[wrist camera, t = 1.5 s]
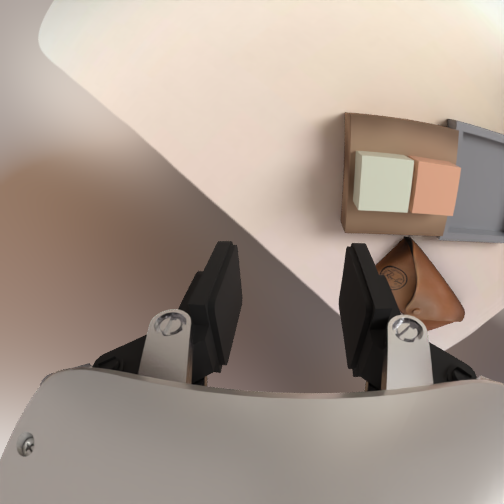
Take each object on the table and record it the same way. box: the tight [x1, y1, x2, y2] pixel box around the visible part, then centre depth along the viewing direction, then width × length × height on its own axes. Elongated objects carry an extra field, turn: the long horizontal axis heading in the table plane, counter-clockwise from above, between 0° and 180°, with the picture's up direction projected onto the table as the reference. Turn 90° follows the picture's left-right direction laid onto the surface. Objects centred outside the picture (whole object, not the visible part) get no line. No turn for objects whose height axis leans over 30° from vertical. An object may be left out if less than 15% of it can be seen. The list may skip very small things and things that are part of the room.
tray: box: [436, 119, 504, 243], centre depth 23 cm, size 14×14×2 cm
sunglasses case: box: [376, 237, 465, 331], centre depth 32 cm, size 18×7×7 cm
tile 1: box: [408, 156, 461, 216], centre depth 22 cm, size 5×5×2 cm
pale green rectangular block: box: [353, 151, 414, 213], centre depth 23 cm, size 5×5×2 cm
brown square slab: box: [341, 112, 459, 236], centre depth 25 cm, size 12×12×3 cm
